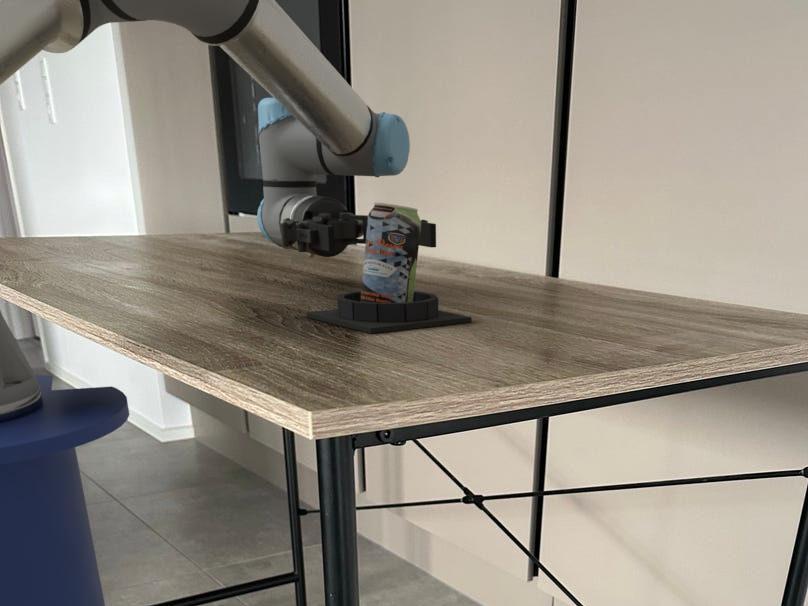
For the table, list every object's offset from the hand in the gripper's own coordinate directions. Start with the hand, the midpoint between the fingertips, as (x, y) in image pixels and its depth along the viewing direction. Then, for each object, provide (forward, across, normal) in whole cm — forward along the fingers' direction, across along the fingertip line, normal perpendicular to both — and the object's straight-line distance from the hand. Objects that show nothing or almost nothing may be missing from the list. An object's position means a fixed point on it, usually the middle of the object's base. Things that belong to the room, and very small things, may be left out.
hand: (384, 237), depth 114 cm
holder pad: (+7, +3, -8) cm, 11 cm away
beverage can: (+7, +3, -8) cm, 11 cm away
